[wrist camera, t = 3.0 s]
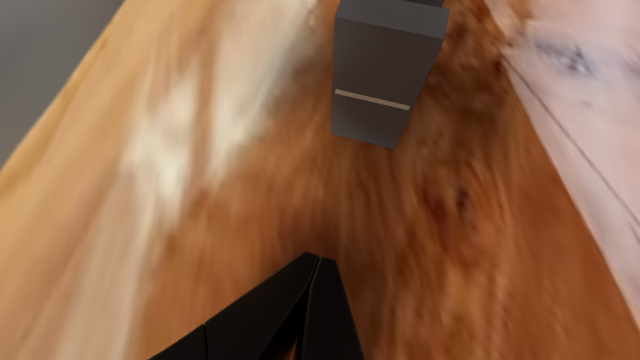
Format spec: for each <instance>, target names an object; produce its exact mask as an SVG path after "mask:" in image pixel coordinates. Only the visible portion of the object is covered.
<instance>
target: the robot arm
mask: <svg viewBox="0 0 640 360" xmlns="http://www.w3.org/2000/svg"><path fill="white" fill-rule="evenodd" d="M297 337H298V338H297ZM296 340H297V342H296ZM295 343H296V346H295V351H294V356H293V360H365V357H364V354H363V350H362V347H361V344H360V340H359V337H358V333H357V330H356V326H355V323H354V320H353V316H352V313H351V309H350V306H349V303H348V299H347V296H346V292H345V289H344V286H343V282H342V279H341V275H340V272H339V269H338V265H337V262H336V261H335V260H333V259H330V258H326V257H321V258H320V257H319V255H316V254H313V253H309V252H303V253H302V254H300V255H299V256H298V257H296V258H295V259H293V260H292V261H290V262H289V263H288V264H286V265H285V266H283V267H282V268H281V269H279V270H278V271H276V272H275V273H273V274H272V275H271V276H269V277H268V278H266V279H265V280H264V281H262V282H261V283H259V284H258V285H257V286H255V287H254V288H252V289H251V290H249V291H248V292H247V293H245V294H244V295H242V296H241V297H240V298H238V299H237V300H235V301H234V302H232V303H231V304H230V305H228V306H227V307H225V308H224V309H223V310H221V311H220V312H218V313H217V314H215V315H214V316H213V317H211V318H210V319H208V320H207V321H206V322H205V323H204V324H201V325H200V326H198V327H197V328H195V329H194V330H193V331H191V332H190V333H188V334H187V335H185V336H184V337H182V338H181V339H179V340H178V341H176V342H175V343H173V344H172V345H170V346H169V347H167V348H166V349H164V350H163V351H161V352H160V353H158V354H156V355H155V356H153V357H151V358H150V359H148V360H289V357H290V355H291V353H292V350H293V348H294V345H295Z"/></svg>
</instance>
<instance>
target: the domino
mask: <svg viewBox="0 0 640 360" xmlns="http://www.w3.org/2000/svg"><path fill="white" fill-rule="evenodd" d="M449 11H450V9H445V8H440V7H434V6H429V5H424V4H419V3H414V2H408V1H403V0H341V1H340V3H339V6H338V9H337V12H336V15H335V24H334V55H333V87H332V118H331V134H334V135H338V136H342V137H346V138H350V139H354V140H358V141H363V142H367V143H371V144H375V145H379V146H383V147H387V148H391V149H395V146H396V144H397V142H398V140H399V138H400V135H401V133H402V131H403V129H404V126H405V124H406V122H407V120H408V118H409V115H410V113H411V111H412V109H413V107H414V104H415V102H416V100H417V98H418V96H419V93H420V91H421V89H422V87H423V84H424V82H425V80H426V78H427V76H428V73H429V71H430V69H431V67H432V65H433V62H434V60H435V58H436V56H437V53H438V51H439V49H440V47H441V45H442V42H443V40H444V37H445V32H446V27H447V21H448V16H449Z"/></svg>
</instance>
